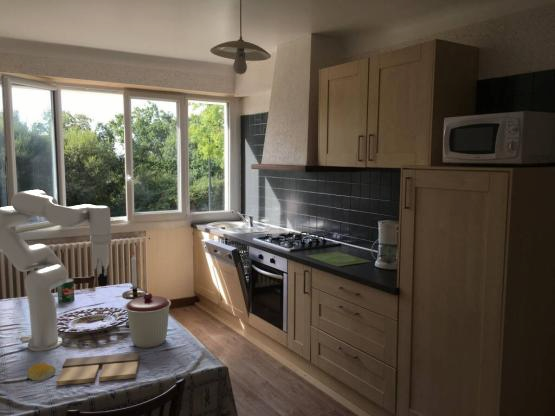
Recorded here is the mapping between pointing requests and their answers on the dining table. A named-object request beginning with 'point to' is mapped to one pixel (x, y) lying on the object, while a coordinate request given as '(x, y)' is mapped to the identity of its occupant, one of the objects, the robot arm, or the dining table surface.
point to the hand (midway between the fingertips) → (103, 285)
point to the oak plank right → (118, 371)
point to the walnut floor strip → (101, 360)
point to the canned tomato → (66, 292)
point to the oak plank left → (77, 375)
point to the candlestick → (134, 292)
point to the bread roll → (41, 371)
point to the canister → (148, 320)
